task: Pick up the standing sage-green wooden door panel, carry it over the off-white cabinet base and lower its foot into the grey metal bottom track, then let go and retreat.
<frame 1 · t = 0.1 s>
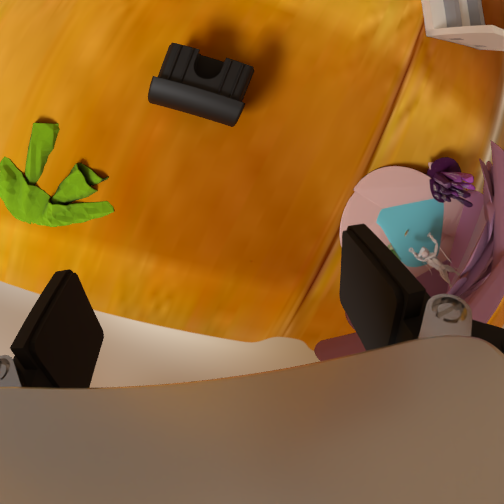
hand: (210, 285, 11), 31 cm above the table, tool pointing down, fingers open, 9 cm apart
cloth: (57, 173, 37), on the table
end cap: (202, 85, 34), on the table
flower arrangement: (392, 225, 47), on the table
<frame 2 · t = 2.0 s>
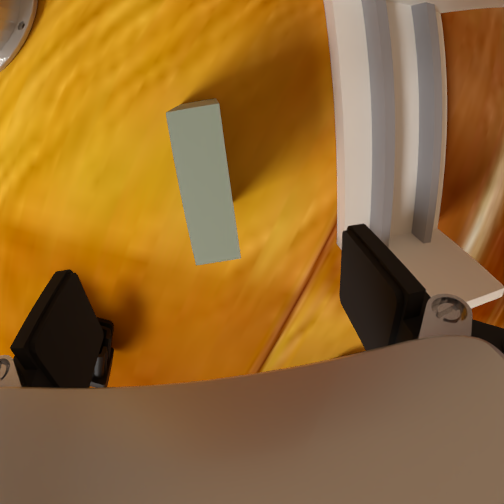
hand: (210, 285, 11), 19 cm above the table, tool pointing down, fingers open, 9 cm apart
cabinet base: (390, 119, 27), on the table
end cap: (79, 330, 35), on the table
door panel: (206, 155, 27), on the table
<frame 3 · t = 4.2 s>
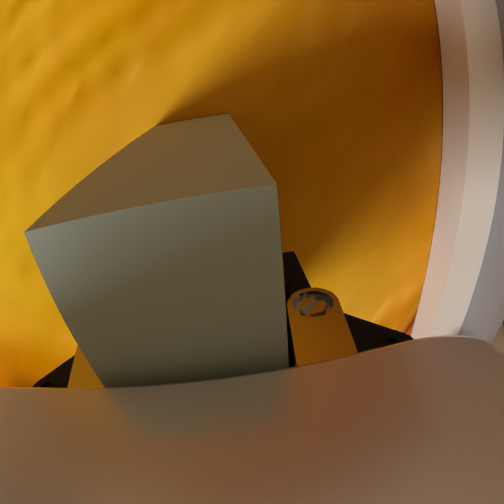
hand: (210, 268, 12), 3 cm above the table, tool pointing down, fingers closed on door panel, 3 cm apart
door panel: (210, 230, 14), on the table, touching gripper
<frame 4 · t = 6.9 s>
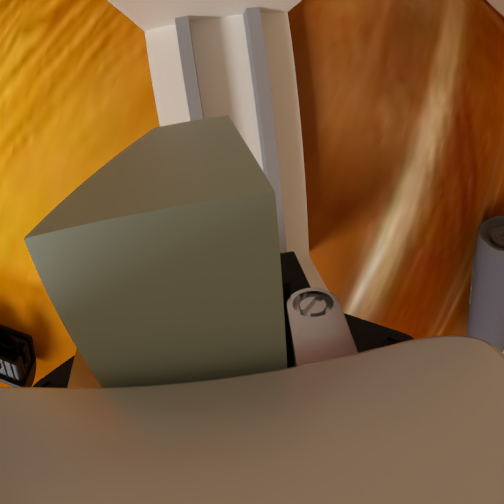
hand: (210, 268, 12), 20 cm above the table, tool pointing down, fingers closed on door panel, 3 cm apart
cabinet base: (233, 145, 28), on the table
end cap: (11, 341, 37), on the table
door panel: (209, 232, 14), point 17 cm above the table, touching gripper
bluetooth speaker: (477, 274, 42), on the table
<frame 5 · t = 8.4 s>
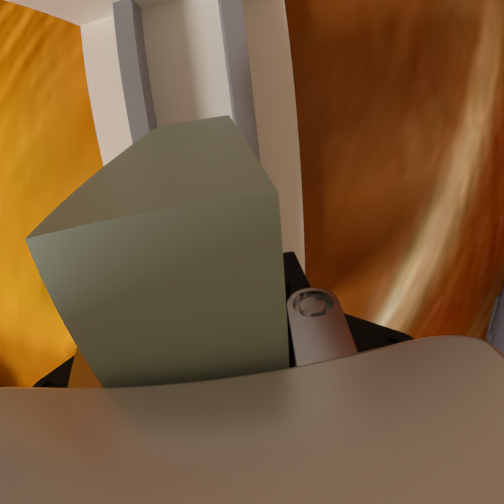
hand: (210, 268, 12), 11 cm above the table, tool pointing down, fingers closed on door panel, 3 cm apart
cabinet base: (205, 180, 21), on the table
door panel: (210, 232, 14), point 8 cm above the table, touching gripper
bluetooth speaker: (496, 316, 35), on the table
when the fingers open (6 cm above the table, at t = 9.7 s): door panel stays where it is, resting on cabinet base.
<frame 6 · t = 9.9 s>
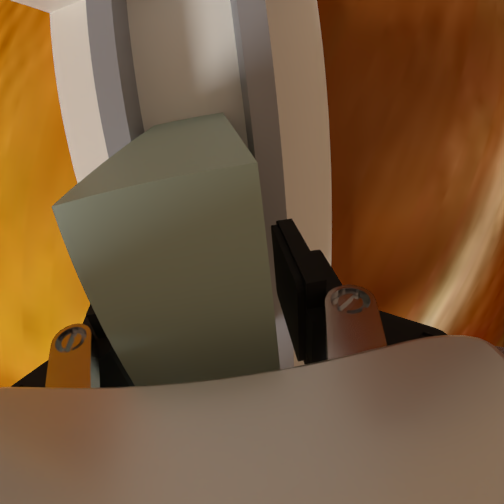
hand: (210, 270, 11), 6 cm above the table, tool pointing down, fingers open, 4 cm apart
cabinet base: (210, 206, 17), on the table
door panel: (207, 222, 15), point 2 cm above the table, touching cabinet base
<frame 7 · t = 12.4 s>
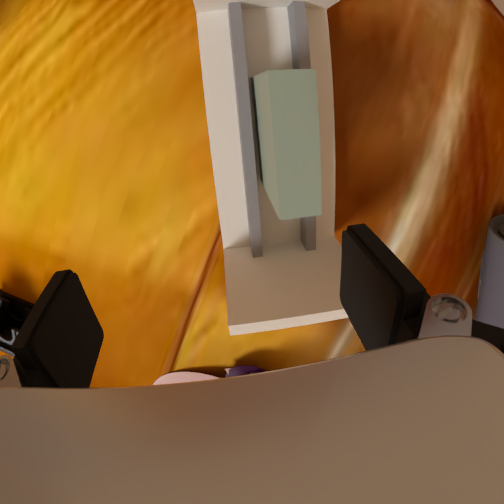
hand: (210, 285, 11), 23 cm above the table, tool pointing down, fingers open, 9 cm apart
cabinet base: (270, 125, 30), on the table
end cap: (23, 315, 38), on the table
flower arrangement: (206, 403, 50), on the table
door panel: (272, 128, 28), point 2 cm above the table, touching cabinet base
bluetooth speaker: (485, 270, 43), on the table
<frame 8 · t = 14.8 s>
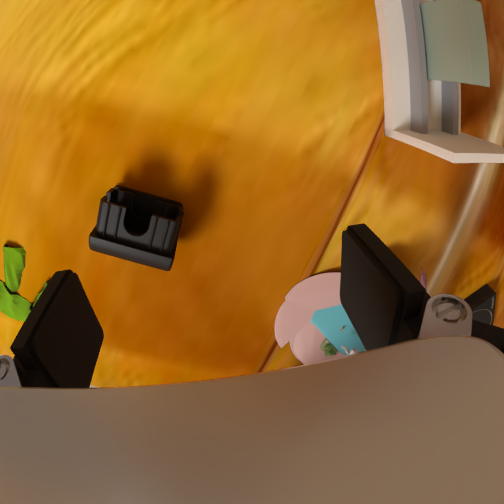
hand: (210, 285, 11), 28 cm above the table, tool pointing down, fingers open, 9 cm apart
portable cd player: (456, 326, 59), on the table
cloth: (32, 284, 42), on the table
cabinet base: (417, 43, 31), on the table
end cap: (142, 218, 39), on the table
flower arrangement: (331, 319, 51), on the table
door panel: (425, 43, 29), point 2 cm above the table, touching cabinet base
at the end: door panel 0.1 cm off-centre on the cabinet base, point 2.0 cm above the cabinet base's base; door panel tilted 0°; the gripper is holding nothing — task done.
